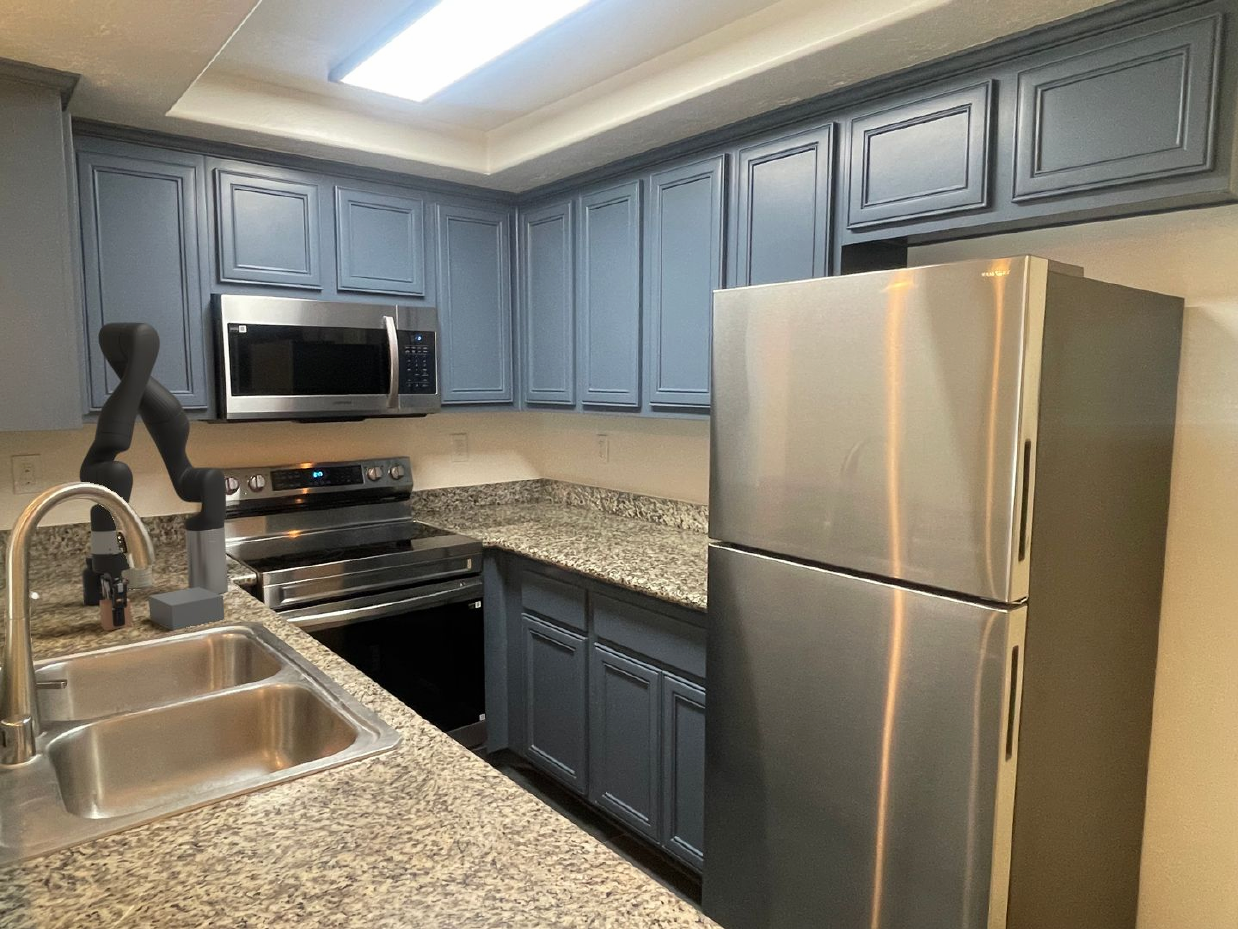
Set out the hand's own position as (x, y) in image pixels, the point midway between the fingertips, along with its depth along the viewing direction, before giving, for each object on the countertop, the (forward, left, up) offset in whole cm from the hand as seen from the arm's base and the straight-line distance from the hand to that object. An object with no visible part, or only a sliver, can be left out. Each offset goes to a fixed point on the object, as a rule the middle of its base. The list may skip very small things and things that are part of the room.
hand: (116, 623), depth 181 cm
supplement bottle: (-28, +2, -1) cm, 28 cm away
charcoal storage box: (+6, +13, -1) cm, 14 cm away
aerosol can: (-39, +13, -1) cm, 41 cm away
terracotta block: (0, 0, -1) cm, 1 cm away
